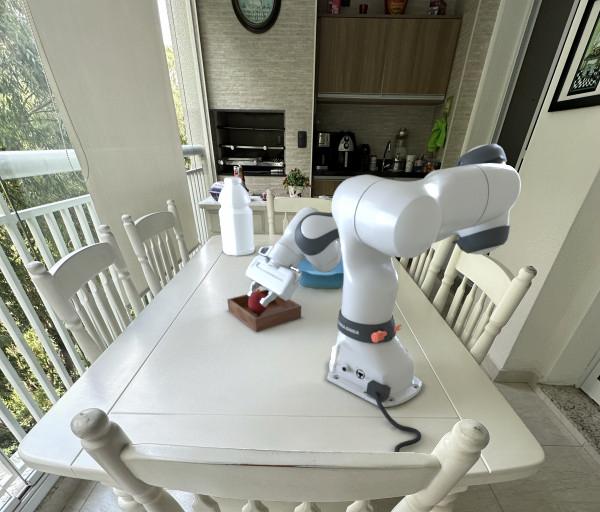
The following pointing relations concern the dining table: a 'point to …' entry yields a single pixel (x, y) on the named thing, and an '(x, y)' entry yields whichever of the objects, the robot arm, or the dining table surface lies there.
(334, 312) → the dining table surface
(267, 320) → the tray
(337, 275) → the casserole dish
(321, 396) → the dining table surface
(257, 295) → the onion
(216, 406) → the dining table surface
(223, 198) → the bottle
